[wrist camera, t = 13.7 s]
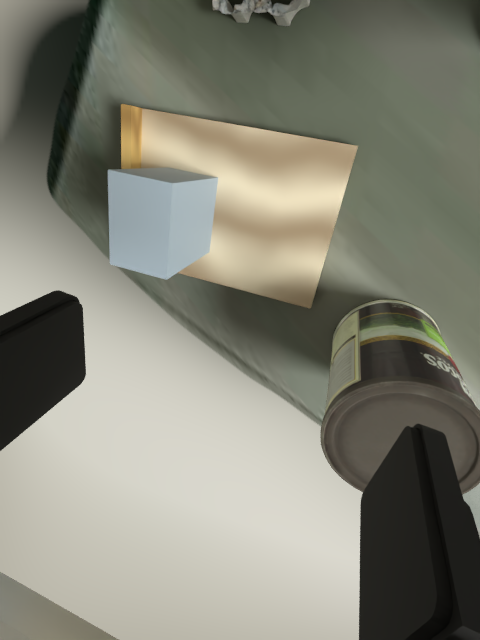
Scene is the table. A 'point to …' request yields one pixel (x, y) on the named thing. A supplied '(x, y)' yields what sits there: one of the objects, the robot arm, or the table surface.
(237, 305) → the table surface
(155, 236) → the carton
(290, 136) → the shelf
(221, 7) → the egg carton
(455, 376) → the coffee can
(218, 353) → the table surface
